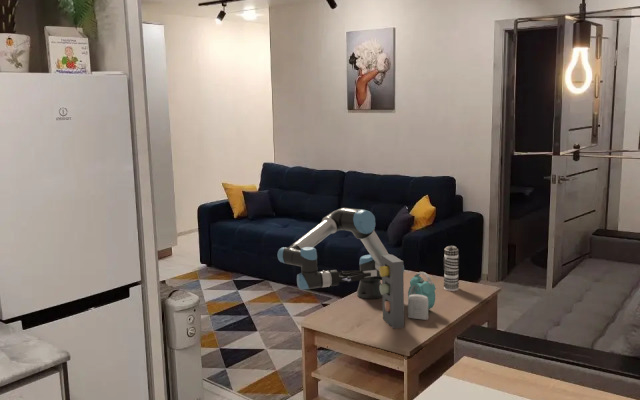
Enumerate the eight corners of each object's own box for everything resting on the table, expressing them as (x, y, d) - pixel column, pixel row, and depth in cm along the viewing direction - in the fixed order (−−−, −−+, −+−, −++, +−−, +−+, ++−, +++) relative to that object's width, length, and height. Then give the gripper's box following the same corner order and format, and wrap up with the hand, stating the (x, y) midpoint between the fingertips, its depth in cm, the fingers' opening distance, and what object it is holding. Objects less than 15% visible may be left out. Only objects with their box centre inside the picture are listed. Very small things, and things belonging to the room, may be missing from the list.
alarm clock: (405, 306, 322) (404, 270, 319) (420, 303, 326) (420, 267, 322) (423, 316, 306) (422, 278, 303) (438, 313, 310) (438, 275, 307)
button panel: (393, 317, 306) (392, 254, 300) (404, 327, 292) (403, 261, 287) (382, 318, 304) (381, 255, 299) (393, 328, 291) (392, 262, 286)
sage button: (387, 291, 298) (386, 282, 297) (390, 294, 293) (390, 285, 292) (379, 292, 297) (379, 283, 296) (383, 295, 292) (383, 285, 291)
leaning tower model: (462, 288, 347) (463, 246, 343) (451, 292, 342) (451, 249, 338) (451, 285, 355) (451, 244, 351) (440, 288, 350) (439, 246, 346)
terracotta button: (392, 308, 300) (391, 299, 299) (395, 311, 295) (395, 302, 294) (384, 309, 299) (384, 299, 298) (388, 312, 294) (388, 303, 293)
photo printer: (429, 317, 304) (429, 294, 302) (427, 320, 300) (427, 296, 298) (409, 315, 308) (408, 292, 306) (407, 318, 304) (406, 295, 302)
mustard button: (386, 274, 296) (386, 264, 295) (390, 277, 292) (390, 267, 291) (379, 275, 295) (378, 265, 294) (382, 277, 290) (382, 267, 290)
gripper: (333, 274, 278) (381, 268, 284) (325, 267, 290) (371, 262, 296) (333, 289, 279) (381, 284, 285) (326, 282, 291) (371, 276, 298)
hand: (376, 272), depth 291 cm, fingers closed
